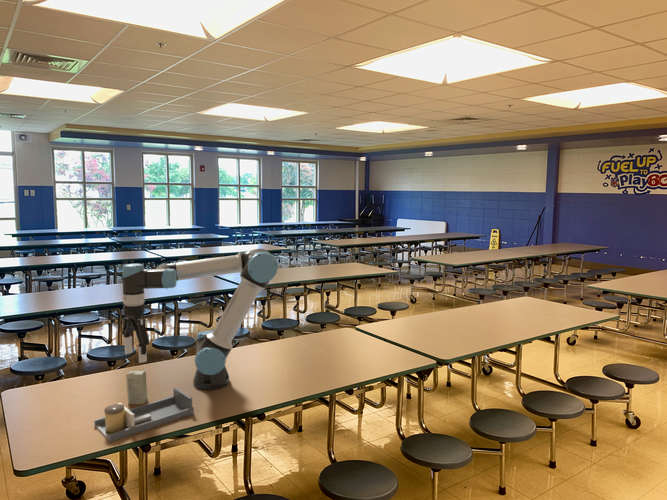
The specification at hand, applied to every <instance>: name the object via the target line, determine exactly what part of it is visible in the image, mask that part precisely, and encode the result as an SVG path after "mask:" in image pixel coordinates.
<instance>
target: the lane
mask: <svg viewBox="0 0 667 500" xmlns="http://www.w3.org/2000/svg"><path fill="white" fill-rule="evenodd" d="M128 409H129V410H130V411H131V412H132V413H133V414H134V418H136V417H139V416H142V415H146V414H150V415H151V419H148V420H145V421H142V422H139V423H136V424H135V426H133V427H130V428H127V427H126V426H125V429H124V430H121V431H118V432H115V433H112V434H109V433H106V427H105V416H104V417H100V418H96V419H94V422H93V423H94V427H95V428H96V429H97V430H98V431H99V432H100V434H102V436H103V437H105V438H106V440H107V441H108V442H109V443H112V442H115V441H118V440H120V439H124V438H127V437H129V436H133V435H135V434H138V433H141V432H142V433H143V432H144V431H147V430H149V429H150V430H151V429H152V428H156V427H159V426H161V425H164V424H167V423H168V424H169V423H170V422H173V421H177V420H179V419H180V420H182V419H183V418H187V417H189V416H192V415H194V414H195V407H193V397H192V396H190V395H189V394H187V393H186V392H184V391H182V390H180V389H179V388H177V387H174V388H173V395H172V396H169V397H165V398H162V399H158V400H156V401H152V402H149V403H144V404H141V405H139V406H136V407H133V408H128Z"/></svg>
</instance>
